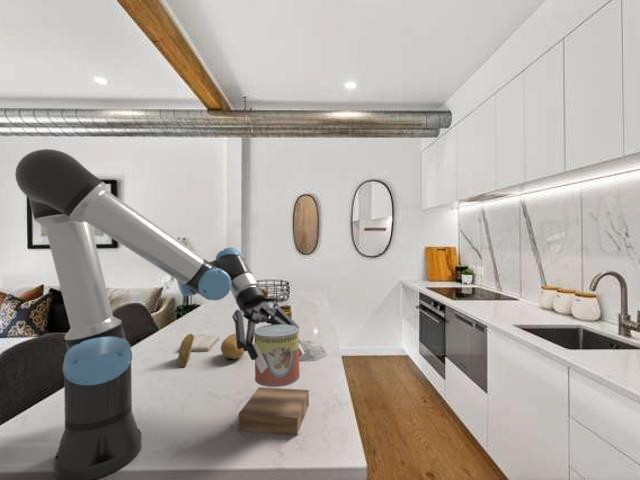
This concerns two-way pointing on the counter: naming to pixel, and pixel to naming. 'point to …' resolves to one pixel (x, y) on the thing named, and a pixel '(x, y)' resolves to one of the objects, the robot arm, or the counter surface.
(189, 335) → the rock
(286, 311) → the condiment
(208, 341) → the washcloth
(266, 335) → the canned food
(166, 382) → the counter surface
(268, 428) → the walnut base
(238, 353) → the potato
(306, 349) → the silver oval dome
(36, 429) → the counter surface
